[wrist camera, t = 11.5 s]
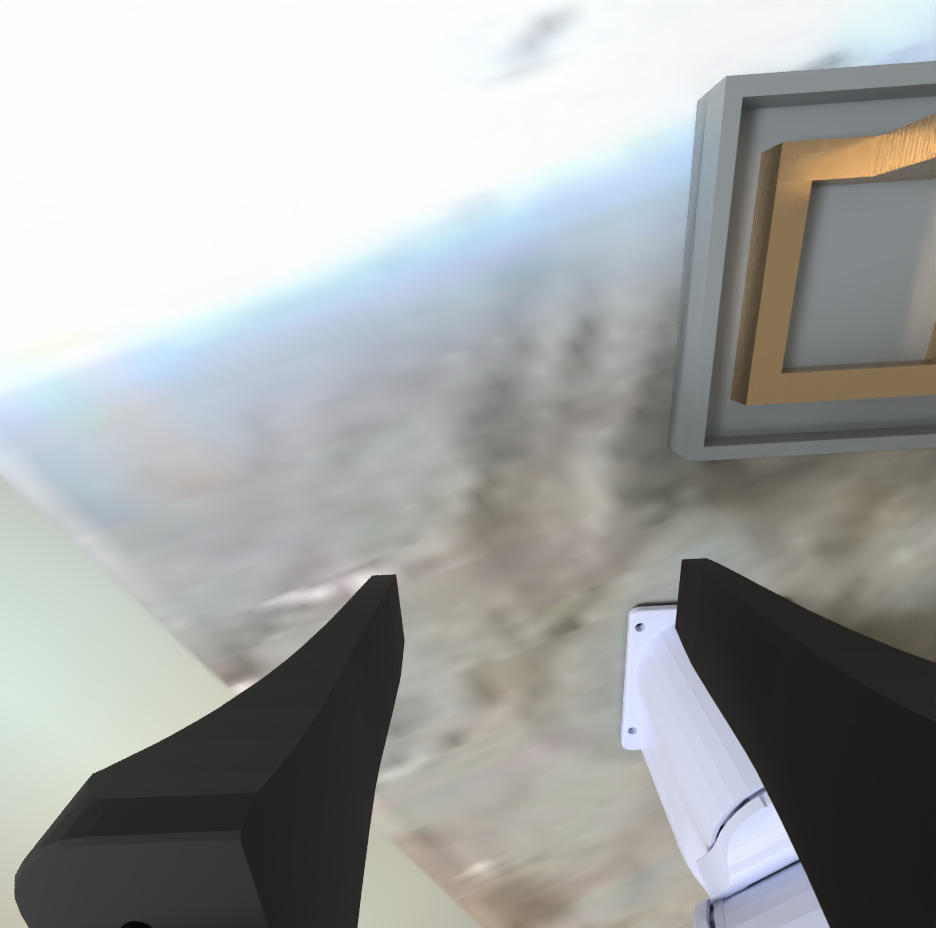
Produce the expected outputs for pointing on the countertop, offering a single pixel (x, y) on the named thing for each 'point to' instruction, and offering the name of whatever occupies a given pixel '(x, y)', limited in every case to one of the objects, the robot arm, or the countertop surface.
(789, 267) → the wooden frame with post
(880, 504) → the countertop surface
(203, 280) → the countertop surface
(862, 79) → the tray
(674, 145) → the countertop surface
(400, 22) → the countertop surface
